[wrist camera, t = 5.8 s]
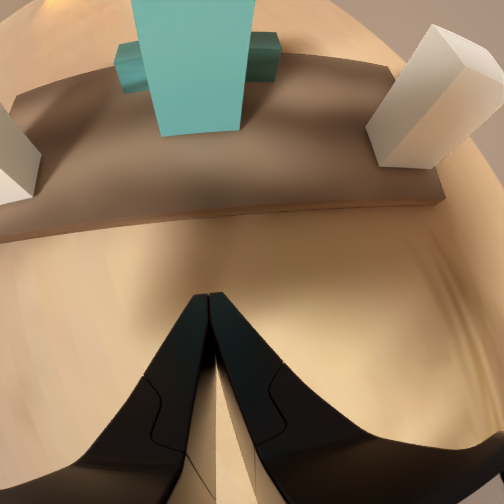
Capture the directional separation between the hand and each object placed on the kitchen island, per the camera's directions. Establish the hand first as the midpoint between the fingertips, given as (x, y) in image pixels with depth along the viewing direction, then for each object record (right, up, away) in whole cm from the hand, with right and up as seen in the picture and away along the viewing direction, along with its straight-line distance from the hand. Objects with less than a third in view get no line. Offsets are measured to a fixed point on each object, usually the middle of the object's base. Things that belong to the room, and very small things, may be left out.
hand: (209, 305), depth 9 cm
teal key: (-2, +10, +8) cm, 12 cm away
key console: (-2, +9, +9) cm, 13 cm away
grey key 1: (+11, +8, +9) cm, 16 cm away
